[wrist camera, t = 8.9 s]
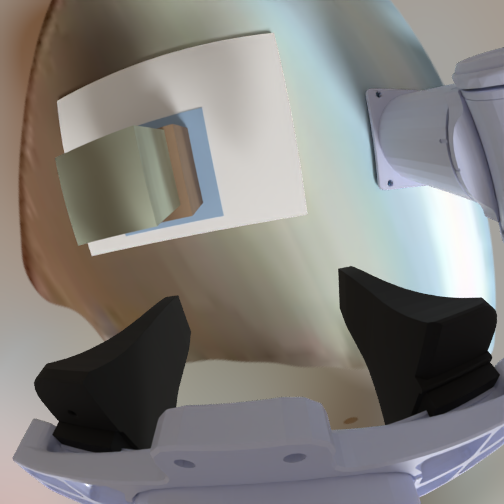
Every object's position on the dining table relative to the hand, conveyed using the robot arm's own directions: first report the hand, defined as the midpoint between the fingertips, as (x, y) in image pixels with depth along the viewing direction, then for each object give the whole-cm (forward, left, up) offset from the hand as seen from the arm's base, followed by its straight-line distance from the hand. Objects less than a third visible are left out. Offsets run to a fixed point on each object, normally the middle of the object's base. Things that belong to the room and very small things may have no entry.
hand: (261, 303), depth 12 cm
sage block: (+6, -6, -5) cm, 10 cm away
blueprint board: (+5, -8, -10) cm, 14 cm away
